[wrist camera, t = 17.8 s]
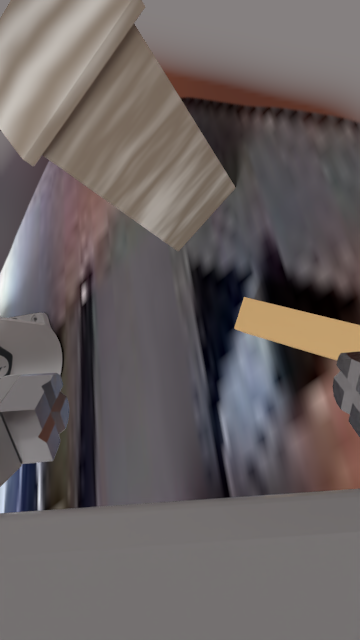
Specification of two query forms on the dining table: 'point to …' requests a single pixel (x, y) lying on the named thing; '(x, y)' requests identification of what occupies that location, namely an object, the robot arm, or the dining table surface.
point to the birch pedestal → (106, 113)
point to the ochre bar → (298, 328)
